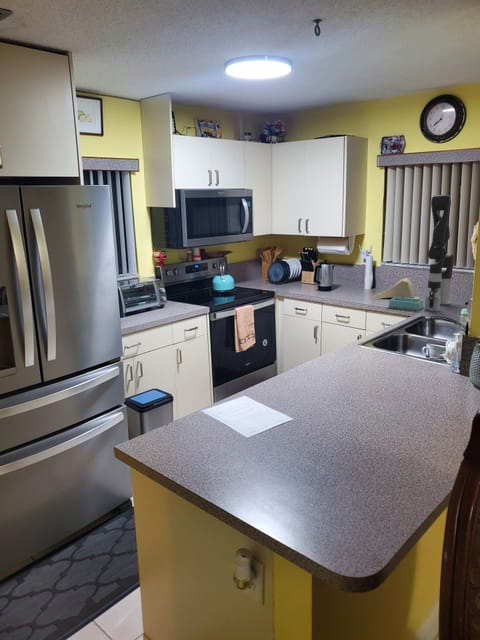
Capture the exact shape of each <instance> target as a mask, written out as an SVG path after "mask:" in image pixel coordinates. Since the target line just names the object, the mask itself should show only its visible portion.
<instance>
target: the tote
mask: <svg viewBox="0 0 480 640" xmlns="http://www.w3.org/2000/svg"><path fill="white" fill-rule="evenodd" d="M424 301H425V300H424V299H422V298H420V299H414V298H404V297H403V296H400V297H391V299H389V301H388V309H396V310H397V309H398V310H405V311H415V312H418V311H420V310H421V309H422V308H423V307H424Z"/></svg>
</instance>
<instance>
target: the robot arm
mask: <svg viewBox="0 0 480 640" xmlns="http://www.w3.org/2000/svg"><path fill="white" fill-rule="evenodd" d="M430 199H431V200H430V206H431V207H430V208H431V214H432V218H433V219H432V221H433V230H432V238H431V239H432V240H431V244H430V247H429V250H428V252H427V258H428V259H430V260H435V262H432V263H430V265H429V273H428V278H427V289H430V290H429V291H428V292H429V294H428V296H429V301H430V304H429V307H430V308H433V303H434V299H435V297H441V298H440V305H449V304H450V296H451V287H452V286H451V285H452V278H453V270H454V269H453V268H454V263H455V257H454V254H452V253H447V249H446V248H445V245H446V244H447V243H448V241H449V240H450V237H451V234H450V232H451V231H450V226H449V224H448V222H449V221H448V220H449V216H450V211H451V207H452V199H451V195H450V194H442V195H441V194H439V195H438V194H437V195H433V196H432V197H431V198H430ZM440 211H441V212H442V211H443V213H442V216H441V213H440ZM444 268H445V270H444V271H442V270H443V269H444ZM431 298H432V299H431Z"/></svg>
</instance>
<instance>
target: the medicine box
mask: <svg viewBox="0 0 480 640" xmlns="http://www.w3.org/2000/svg"><path fill="white" fill-rule="evenodd" d="M440 298H441V297H435V299H434V303H433V308H430V307H429V304H430V301H429V295H426V296H425V300H424V301H425V302H424V311H429V312H431V311H432V312H438V311H439V312H440V308H441V304H440ZM431 299H432V298H431Z"/></svg>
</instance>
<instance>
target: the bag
mask: <svg viewBox="0 0 480 640" xmlns="http://www.w3.org/2000/svg"><path fill="white" fill-rule="evenodd" d="M414 291H415V290H414V286H413V283H412V281H411V280H410V279H409V278H407V277H405V278H401V279H399V280H398V281H397V282H396V283H395V284H394V285H393V286H391V287H390V288H388V289H385V290H384V291H381V292H379V293H376V294H373V295H371V296H368V298H369V299H371V300H380V299H387V298H394V297H403V298H414V299H421V298H420V296H415V292H414Z"/></svg>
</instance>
